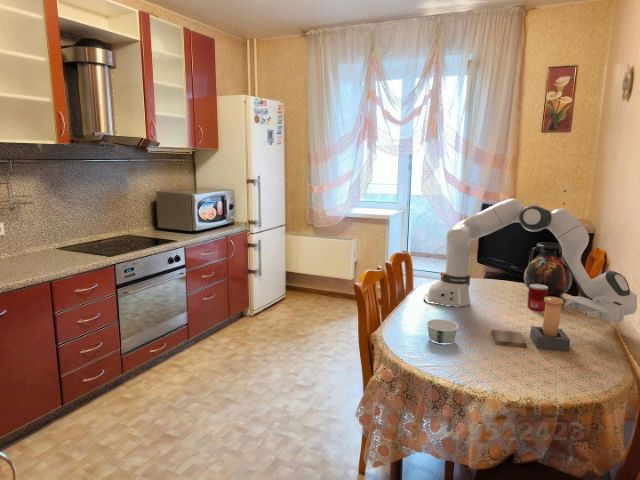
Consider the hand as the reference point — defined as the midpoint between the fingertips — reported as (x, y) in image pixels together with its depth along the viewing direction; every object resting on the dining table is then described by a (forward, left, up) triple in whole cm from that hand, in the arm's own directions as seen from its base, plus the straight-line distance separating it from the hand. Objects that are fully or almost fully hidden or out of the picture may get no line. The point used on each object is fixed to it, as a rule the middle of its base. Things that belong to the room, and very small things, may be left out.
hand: (575, 310), depth 168 cm
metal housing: (-10, -6, -12) cm, 17 cm away
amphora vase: (+3, +55, -13) cm, 56 cm away
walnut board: (-24, -6, -12) cm, 28 cm away
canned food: (-5, +37, -13) cm, 39 cm away
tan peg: (-10, -6, -12) cm, 17 cm away
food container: (-50, -13, -13) cm, 53 cm away
